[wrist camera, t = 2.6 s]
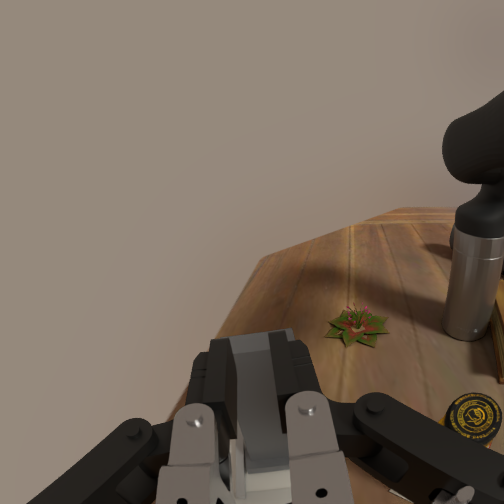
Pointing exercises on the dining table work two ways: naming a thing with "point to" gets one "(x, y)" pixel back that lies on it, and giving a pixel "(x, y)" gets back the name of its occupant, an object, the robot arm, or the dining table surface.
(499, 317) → the diary
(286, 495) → the switch board
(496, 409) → the condiment
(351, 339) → the succulent plant
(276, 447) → the switch lever
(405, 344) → the dining table surface
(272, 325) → the dining table surface
